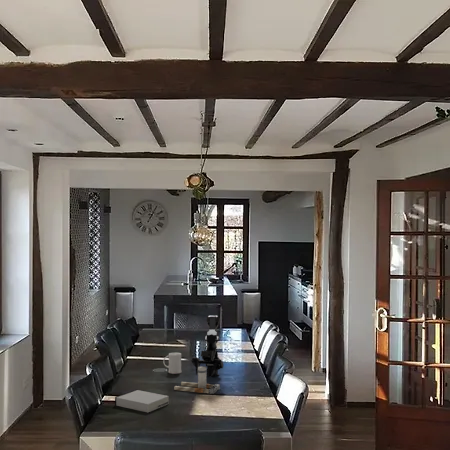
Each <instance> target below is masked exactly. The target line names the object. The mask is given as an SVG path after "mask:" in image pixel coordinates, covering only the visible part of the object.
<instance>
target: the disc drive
mask: <svg viewBox="0 0 450 450" xmlns="http://www.w3.org/2000/svg"><path fill="white" fill-rule="evenodd" d="M169 397H170V396H169V395H166V394H165V395H164V394H159V393H155V392H149V391H145V390H144V391H143V390H139V389H134V390H131V391H129V392H126V393H123V394H120V395H117V396H115V397H114V406H116V407H122V408H127V409H131V410H135V411H138V412H145V413H149V412H150V413H151V412H153V411H155V410H157V409H160V408H162V407H165V406H167V405H169V401H170V400H169V399H170V398H169Z"/></svg>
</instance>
